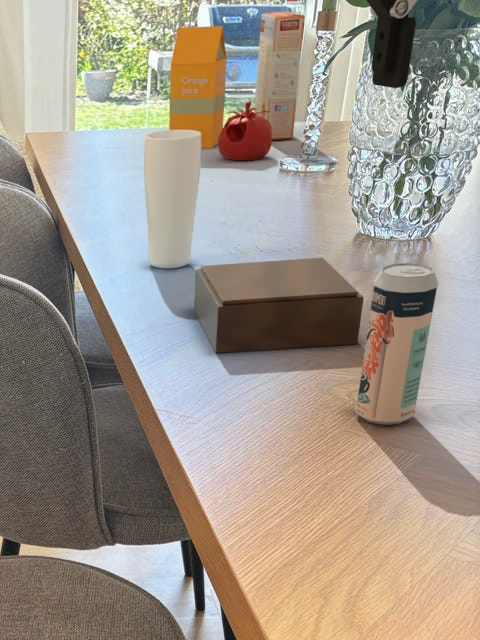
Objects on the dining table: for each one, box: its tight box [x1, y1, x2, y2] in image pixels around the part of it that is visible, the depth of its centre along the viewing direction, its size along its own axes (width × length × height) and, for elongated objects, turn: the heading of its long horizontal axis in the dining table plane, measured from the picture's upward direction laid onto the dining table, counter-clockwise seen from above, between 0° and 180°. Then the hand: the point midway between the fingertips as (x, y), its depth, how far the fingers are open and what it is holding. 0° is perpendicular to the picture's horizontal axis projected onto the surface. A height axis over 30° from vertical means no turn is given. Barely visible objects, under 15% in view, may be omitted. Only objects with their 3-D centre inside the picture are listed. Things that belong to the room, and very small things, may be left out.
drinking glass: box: [143, 129, 202, 270], centre depth 122 cm, size 7×7×15 cm
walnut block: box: [193, 257, 364, 354], centre depth 103 cm, size 14×14×5 cm
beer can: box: [354, 262, 440, 426], centre depth 80 cm, size 5×5×12 cm
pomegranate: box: [217, 100, 273, 161], centre depth 179 cm, size 10×10×9 cm
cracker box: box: [253, 11, 306, 141], centre depth 194 cm, size 14×6×21 cm, turn 178°
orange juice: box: [168, 25, 228, 149], centre depth 191 cm, size 8×9×20 cm
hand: (451, 78), depth 68 cm, fingers open, 9 cm apart
